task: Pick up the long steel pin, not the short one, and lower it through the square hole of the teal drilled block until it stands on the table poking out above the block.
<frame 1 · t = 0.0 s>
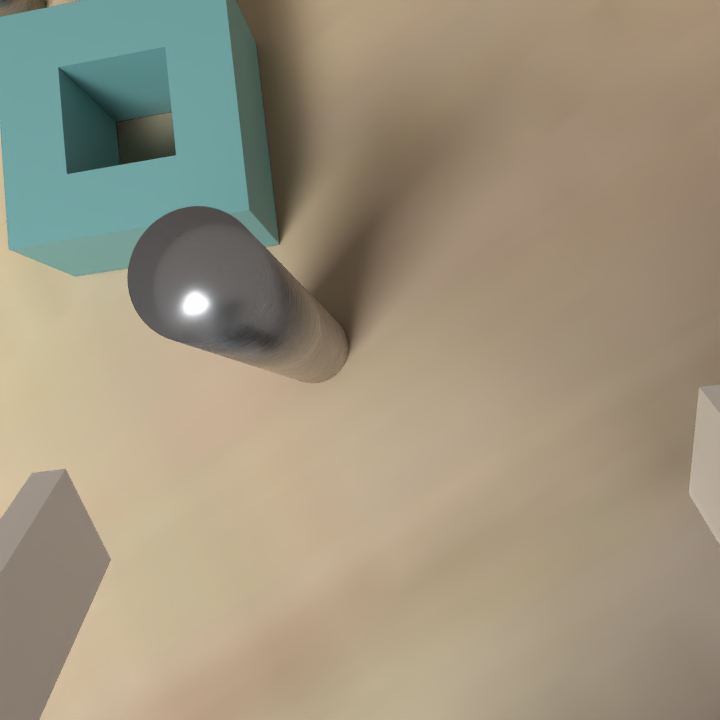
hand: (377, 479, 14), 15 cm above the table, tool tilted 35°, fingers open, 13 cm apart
drilled block: (165, 159, 32), on the table
long pin: (313, 347, 30), on the table
short pin: (16, 12, 34), on the table
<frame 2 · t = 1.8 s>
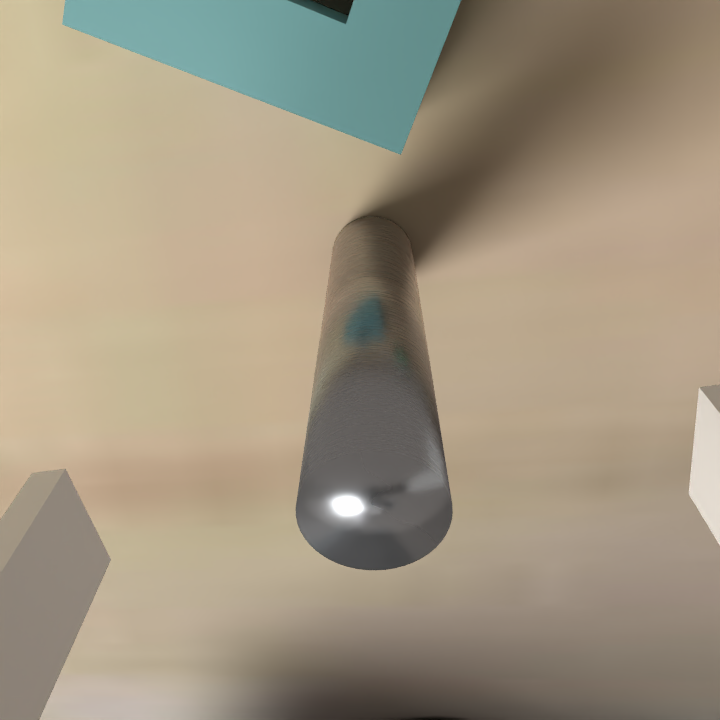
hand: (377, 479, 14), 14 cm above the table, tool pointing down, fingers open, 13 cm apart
long pin: (372, 255, 27), on the table
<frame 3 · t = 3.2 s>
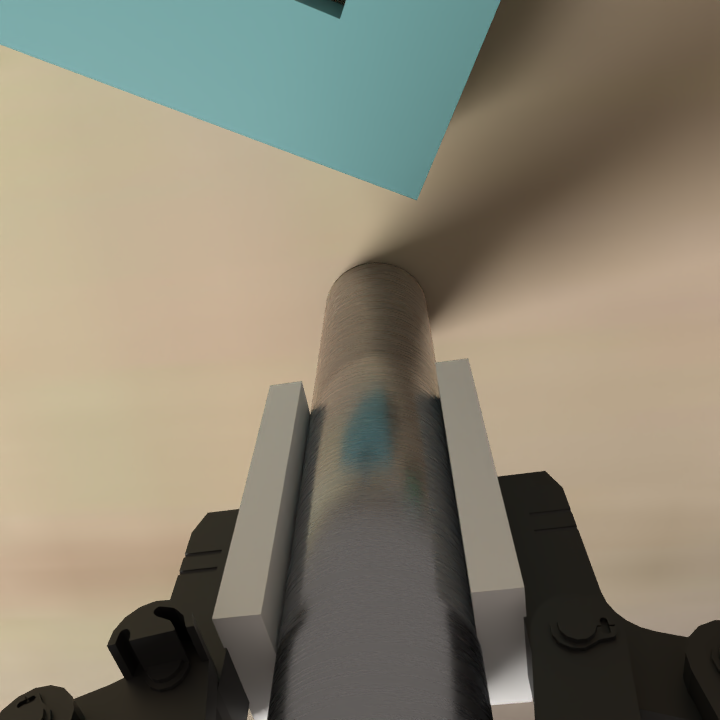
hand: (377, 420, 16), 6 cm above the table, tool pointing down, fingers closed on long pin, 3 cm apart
long pin: (376, 310, 21), on the table, touching gripper
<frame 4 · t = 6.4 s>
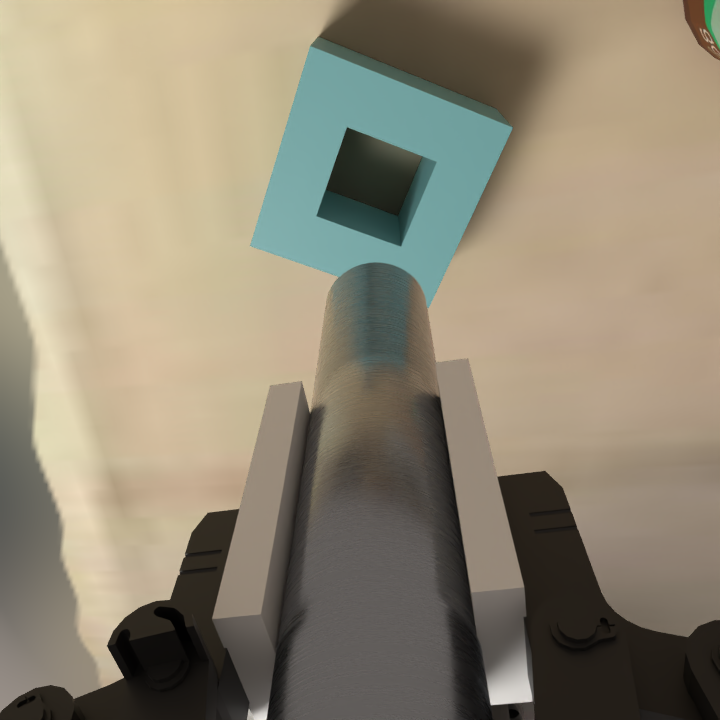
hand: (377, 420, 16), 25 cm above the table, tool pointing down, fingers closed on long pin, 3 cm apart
drilled block: (375, 164, 37), on the table
long pin: (376, 309, 21), point 18 cm above the table, touching gripper
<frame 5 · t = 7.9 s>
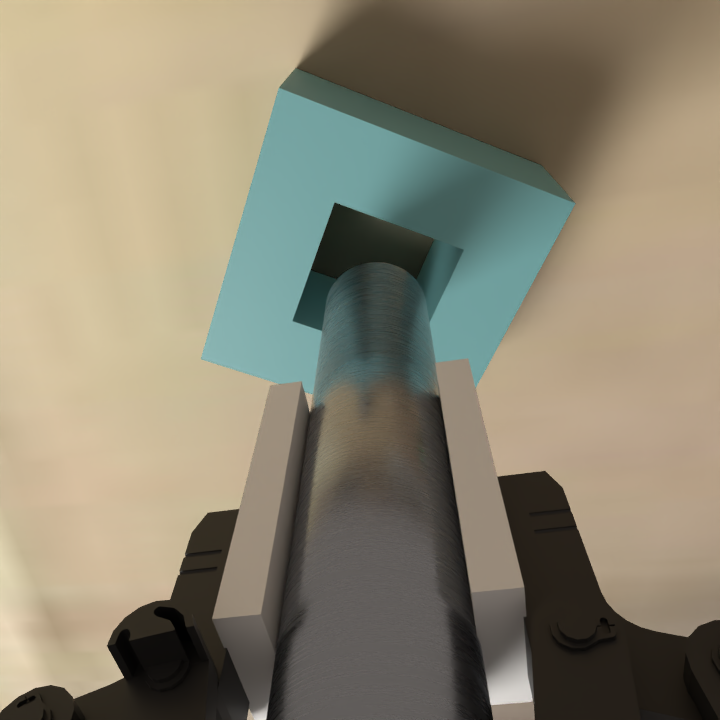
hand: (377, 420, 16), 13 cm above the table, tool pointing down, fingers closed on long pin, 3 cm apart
drilled block: (375, 237, 27), on the table
long pin: (376, 309, 21), point 7 cm above the table, touching gripper
when the fingers open (8 cm above the table, at t = 9.4 s): long pin drops 2 cm, resting in drilled block.
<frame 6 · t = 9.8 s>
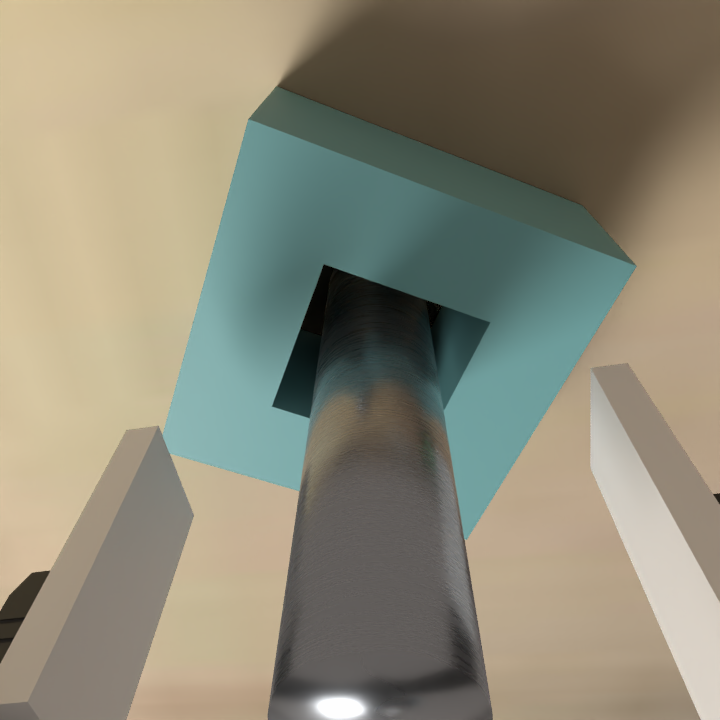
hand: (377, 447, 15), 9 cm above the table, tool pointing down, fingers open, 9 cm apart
drilled block: (376, 290, 22), on the table
long pin: (375, 290, 22), resting in drilled block
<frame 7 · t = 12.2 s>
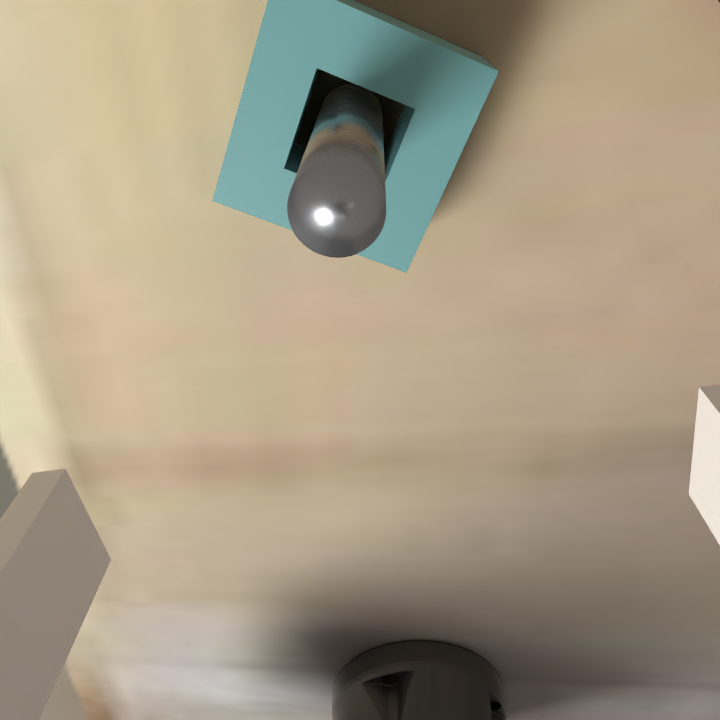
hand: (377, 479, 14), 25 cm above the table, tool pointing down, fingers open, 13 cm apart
drilled block: (351, 117, 34), on the table
long pin: (351, 117, 34), resting in drilled block
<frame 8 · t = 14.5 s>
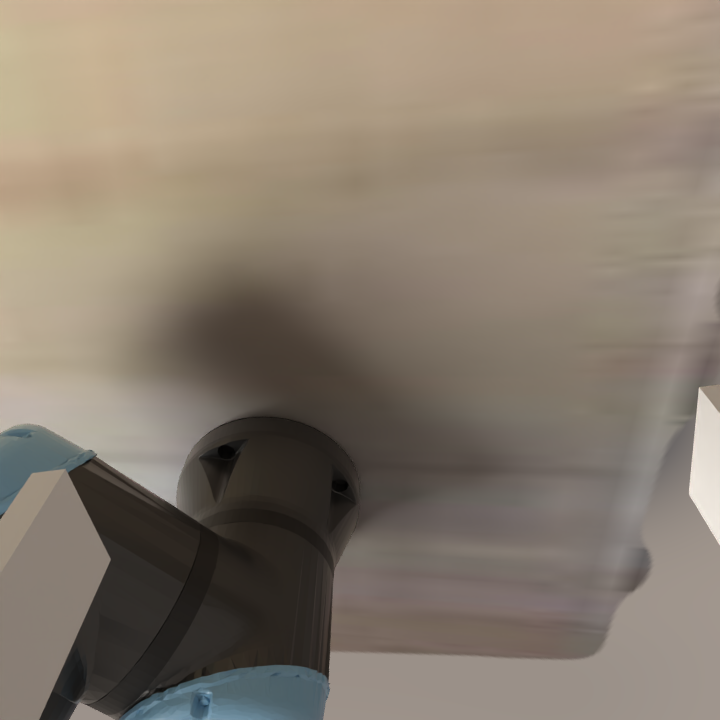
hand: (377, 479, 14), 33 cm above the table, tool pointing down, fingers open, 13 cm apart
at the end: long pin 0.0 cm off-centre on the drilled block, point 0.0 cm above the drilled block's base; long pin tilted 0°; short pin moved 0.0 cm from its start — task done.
